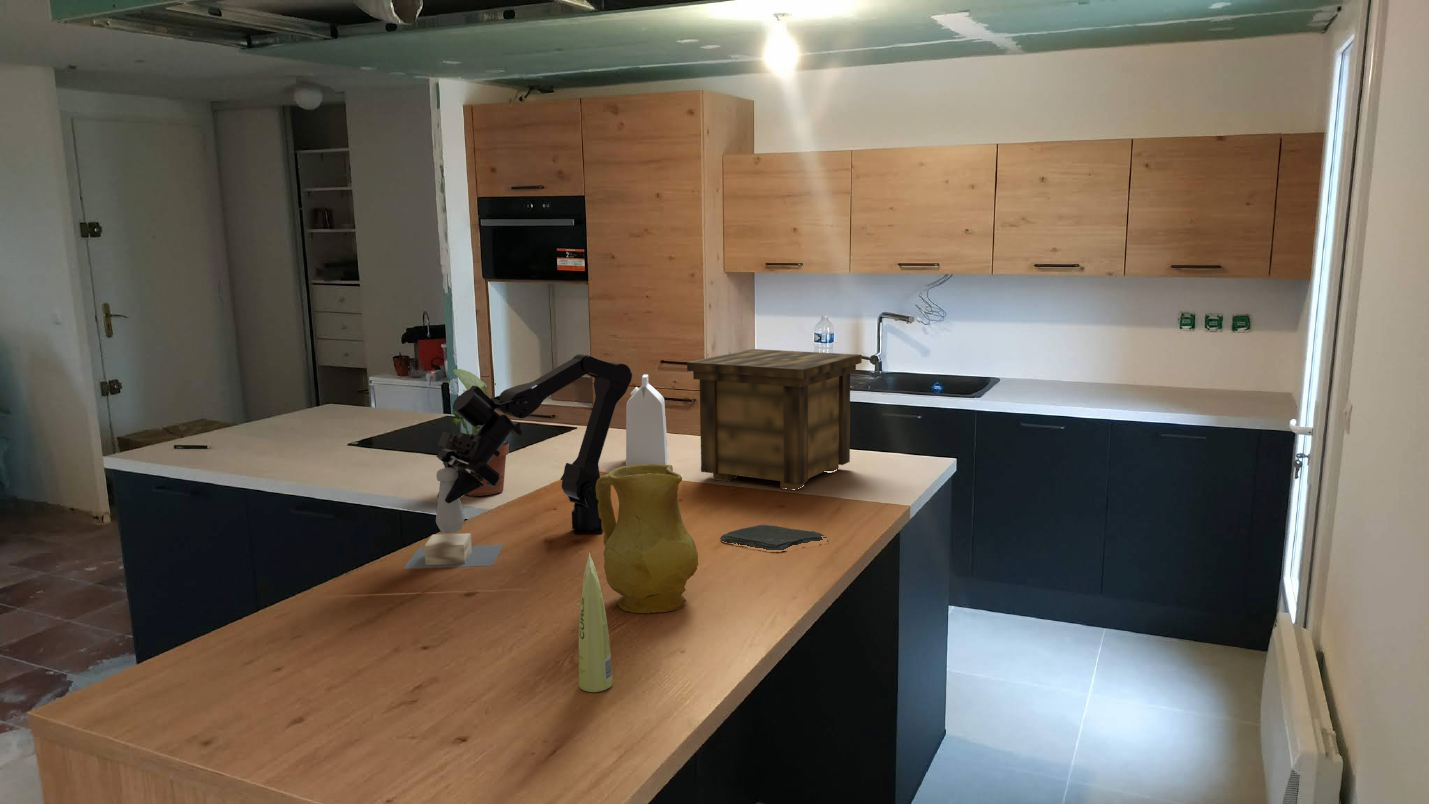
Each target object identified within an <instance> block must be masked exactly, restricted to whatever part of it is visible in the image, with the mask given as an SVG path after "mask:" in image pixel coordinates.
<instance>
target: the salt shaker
mask: <svg viewBox="0 0 1429 804" xmlns="http://www.w3.org/2000/svg"><path fill="white" fill-rule="evenodd" d="M435 476H436V480H437V481H438V482H439V486H438V487H439V488H438V489H439V490H438V493H439V496H438V495H437V496H438V498H437V508H436V516H435V524H436V525H437V527H438V529H439V531H440V532H441V533H443V534H456V533H457V532H461V531H462V529H463V525H464V523H465V518H466V517H465V513H464V510H463V505H462V502H461V499H460V498H461V497H460V498H458V499H456V500H455V501H453V502H451V503H447V502H445V499H446V497H447V495H448V493H449V491H450V490H451V488H452V487H453V485H454V483H455V482H456V481H455V480H457V478H458V471H457V470H456V469H455V468H445V467H444V468H440V469H438V470H437V471H436V475H435Z"/></svg>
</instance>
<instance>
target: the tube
mask: <svg viewBox="0 0 1429 804" xmlns="http://www.w3.org/2000/svg"><path fill="white" fill-rule="evenodd" d="M600 583H601V582H600V579H599V576H598V572H597V568H596V566H595V563H594V561H593V558H592V557H591V553H590V552H588V558H587V561H586V565H585V569H584V574H583V580H582V589H581V591H582V592H581V597H580V598H581V599H580V610H579V618H578V619H579V621H578V622H579V624H578V625H579V626H578V684H579V685H578V686H579V688H580V689H581V690H583V691H585V692H589V693H599V692H604V691H606V690H608V689H610V688H611V687H612V686H613V672H612V670H613V669H612V659H611V658H612V657H611V656H612V655H611V645H610V635H609V627H608V626H609V625H608V620H607V614H606V607H605V602H604V597H603V594H602V589H601V584H600Z"/></svg>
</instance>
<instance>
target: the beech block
mask: <svg viewBox="0 0 1429 804" xmlns="http://www.w3.org/2000/svg"><path fill="white" fill-rule="evenodd" d="M472 546H473V545H472V534H471V532H470V533H466V532H465V533H443V534H442V533H441V534H438V533H437V534H436V533H435V534H431V536H430V538H429V539H428V540H427V542H426V543H425V544H424V545H423V548H424V552H425V565H436V564H465V563H466V561H467V559H468V557H469V556H470V554H471V552H472Z"/></svg>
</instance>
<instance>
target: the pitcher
mask: <svg viewBox="0 0 1429 804" xmlns="http://www.w3.org/2000/svg"><path fill="white" fill-rule="evenodd" d="M673 470H674V468H673V465H671V464H666V465H661V464H642V465H633V466H626V465H625V466H620V467H617V468H614V469H612V470H610V471H609V472H608V473H606V474H604V475H602V476H600V478H599V479H598V480H597V482H596V499H597V500H598V502H599V503H598V512H599V518H600V519H601V520H602V522H601V526H602V530H603V534H604V535H603V545H604V550H603V558H604V560H603V561H604V563H603V569H604V573H605V579H606V582H607V585H609V587H610V589H611V590H613V591H614V592H616V593H617V594H619V595H621V597H619V599H618V601H617V605H618V607H619V608H620V609H621V610H623V611H624V612H629V613H633V614H651V613H652V614H657V613H666V612H670V611H671V612H672V611H675V610H678V609H680V608H683V607H685V606H686V601H687V599H686V598H685V597H684V595H683V593H685V592H686V590H687V589H686V588H685V587H686V584H687V582H688V580H690V578H691V577H693V576H694V575H695V573H696V572H697V571H698V565H699V552H698V550H697V546H696V542H695V540H694V539H693V537H692V536H691V534H690V533H689V531H688V529H687V528H686V527H685V524H684V521H683V518H682V514H681V510H680V505H679V500H678V499H679V498H678V495H679V494H678V490H679V485H680V483H682V481H683V477H682V475H681V474H679V473H678V472H676V471H675V472H674V471H673ZM612 486H613V489H614V490H615V492H616V494H617V498H618V499H617V500H618V512H617V513H618V514H617V520H616V517H615V513H614V507H613V502H612Z"/></svg>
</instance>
